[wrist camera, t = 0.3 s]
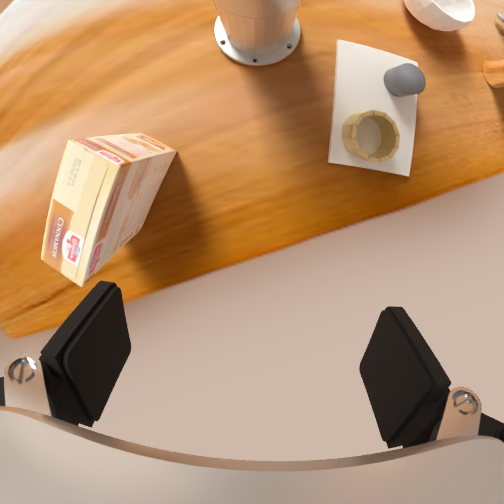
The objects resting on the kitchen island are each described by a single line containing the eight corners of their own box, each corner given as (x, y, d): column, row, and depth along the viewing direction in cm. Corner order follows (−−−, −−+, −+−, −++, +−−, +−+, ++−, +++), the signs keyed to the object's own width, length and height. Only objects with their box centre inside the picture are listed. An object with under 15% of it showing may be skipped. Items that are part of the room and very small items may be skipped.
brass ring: (343, 108, 36) (354, 105, 32) (386, 117, 36) (401, 117, 32) (339, 154, 39) (349, 157, 35) (382, 162, 39) (396, 166, 35)
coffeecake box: (141, 131, 39) (67, 137, 21) (178, 150, 40) (122, 166, 22) (107, 212, 44) (38, 260, 26) (141, 231, 46) (83, 290, 28)
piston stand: (336, 41, 33) (347, 29, 27) (415, 63, 33) (433, 57, 27) (327, 161, 41) (338, 166, 35) (406, 175, 41) (424, 182, 35)
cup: (427, 47, 31) (458, 36, 22) (378, -6, 28) (401, -28, 19) (457, 23, 28) (487, 13, 19) (413, -25, 24) (437, -44, 15)
